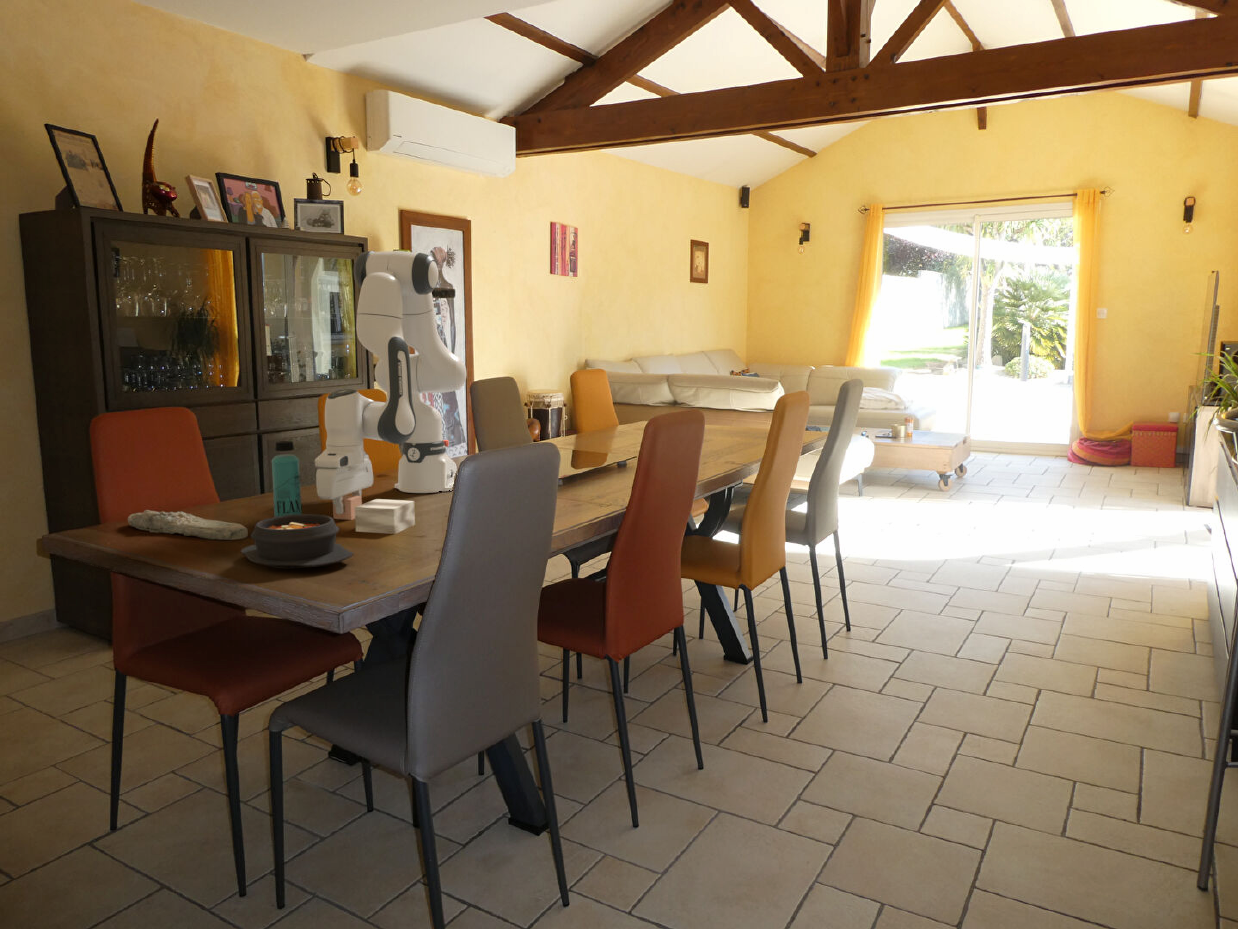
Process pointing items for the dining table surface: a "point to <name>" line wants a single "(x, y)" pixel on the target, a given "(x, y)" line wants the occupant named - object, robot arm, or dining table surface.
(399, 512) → the base block
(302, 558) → the casserole
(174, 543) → the dining table surface
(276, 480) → the beverage bottle
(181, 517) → the long grey stone
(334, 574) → the dining table surface
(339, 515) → the terracotta block
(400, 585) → the dining table surface
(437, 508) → the dining table surface
